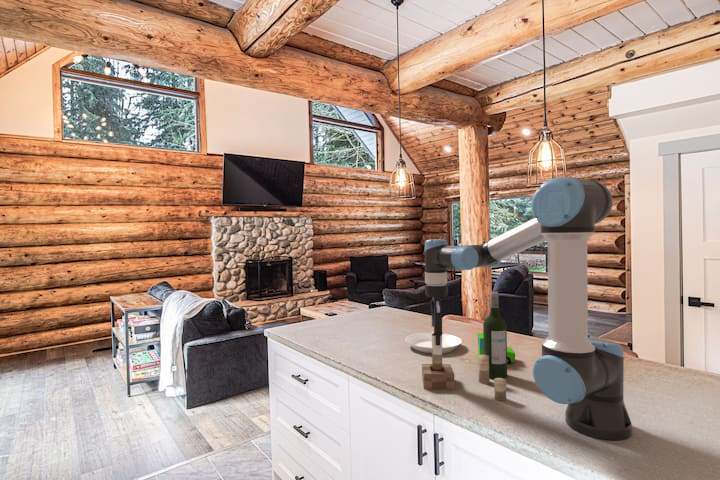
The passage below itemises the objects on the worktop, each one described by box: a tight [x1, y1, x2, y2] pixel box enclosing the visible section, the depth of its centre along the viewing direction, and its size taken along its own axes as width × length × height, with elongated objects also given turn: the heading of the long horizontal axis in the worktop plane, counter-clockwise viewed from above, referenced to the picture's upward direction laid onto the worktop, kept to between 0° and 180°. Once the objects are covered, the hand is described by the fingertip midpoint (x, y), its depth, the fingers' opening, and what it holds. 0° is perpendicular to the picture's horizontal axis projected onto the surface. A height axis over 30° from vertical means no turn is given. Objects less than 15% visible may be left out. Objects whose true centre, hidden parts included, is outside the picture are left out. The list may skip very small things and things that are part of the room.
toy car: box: [477, 332, 516, 366], centre depth 159 cm, size 10×13×10 cm
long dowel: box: [431, 326, 443, 370], centre depth 137 cm, size 3×3×14 cm
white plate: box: [405, 332, 463, 354], centre depth 180 cm, size 25×25×4 cm
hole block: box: [421, 363, 456, 390], centre depth 137 cm, size 10×10×5 cm
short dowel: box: [494, 378, 507, 402], centre depth 124 cm, size 3×3×6 cm
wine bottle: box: [482, 291, 508, 380], centre depth 143 cm, size 8×8×30 cm
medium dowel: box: [478, 355, 490, 385], centre depth 138 cm, size 3×3×9 cm
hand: (437, 352), depth 137 cm, fingers closed on long dowel, 3 cm apart
